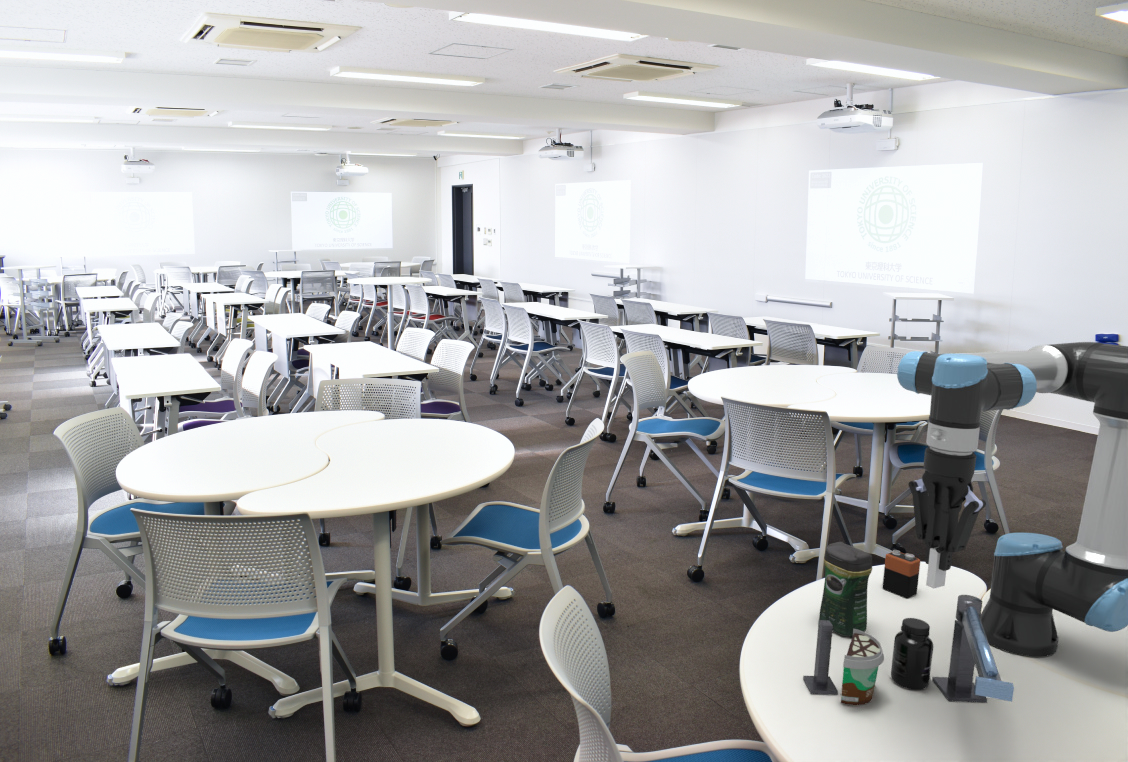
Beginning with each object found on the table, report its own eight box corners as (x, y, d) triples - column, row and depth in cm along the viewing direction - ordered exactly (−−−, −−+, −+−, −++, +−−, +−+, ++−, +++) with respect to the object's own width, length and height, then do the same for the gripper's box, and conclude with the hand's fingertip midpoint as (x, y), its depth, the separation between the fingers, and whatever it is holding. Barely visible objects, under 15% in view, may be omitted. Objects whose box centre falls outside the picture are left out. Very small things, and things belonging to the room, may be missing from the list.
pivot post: (968, 681, 152) (976, 615, 149) (987, 702, 145) (995, 634, 142) (931, 680, 152) (939, 614, 149) (948, 701, 145) (956, 632, 142)
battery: (907, 599, 187) (911, 559, 185) (881, 589, 192) (885, 550, 190) (917, 595, 189) (921, 555, 187) (891, 584, 194) (895, 546, 193)
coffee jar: (872, 633, 170) (880, 551, 167) (847, 641, 166) (854, 558, 163) (837, 614, 178) (844, 536, 175) (812, 621, 174) (819, 542, 171)
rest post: (829, 680, 151) (834, 617, 149) (837, 694, 146) (843, 629, 144) (803, 679, 151) (808, 616, 149) (810, 694, 146) (816, 629, 144)
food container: (875, 717, 140) (881, 665, 138) (839, 707, 142) (844, 656, 141) (883, 683, 150) (888, 635, 149) (849, 675, 153) (853, 627, 151)
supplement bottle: (932, 693, 147) (939, 634, 145) (894, 688, 149) (900, 629, 147) (924, 674, 154) (930, 617, 152) (887, 669, 155) (893, 613, 153)
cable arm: (951, 612, 148) (953, 592, 148) (981, 617, 147) (983, 597, 146) (974, 697, 120) (977, 673, 120) (1011, 704, 119) (1014, 680, 118)
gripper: (901, 442, 132) (888, 574, 136) (972, 462, 121) (955, 605, 125) (931, 437, 136) (917, 567, 140) (1003, 457, 124) (985, 597, 128)
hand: (935, 585), depth 132 cm, fingers closed
